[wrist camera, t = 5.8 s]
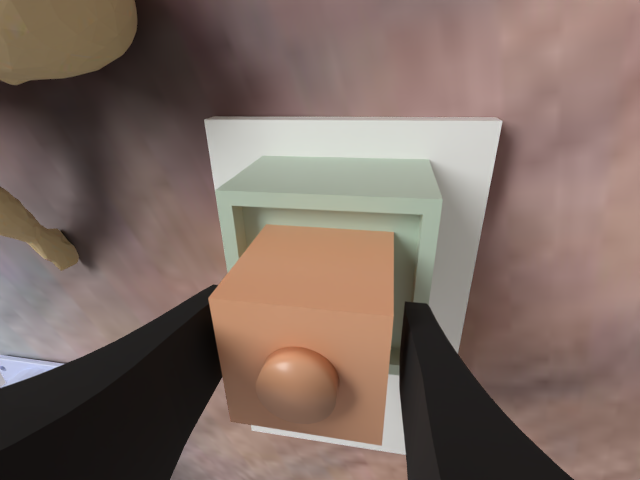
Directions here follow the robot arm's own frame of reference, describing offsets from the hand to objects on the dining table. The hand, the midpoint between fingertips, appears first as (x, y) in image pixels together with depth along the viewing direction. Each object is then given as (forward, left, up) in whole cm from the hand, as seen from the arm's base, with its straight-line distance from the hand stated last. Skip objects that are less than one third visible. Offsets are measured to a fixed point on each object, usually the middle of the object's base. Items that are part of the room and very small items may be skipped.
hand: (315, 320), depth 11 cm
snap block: (0, 0, -2) cm, 2 cm away
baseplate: (-5, 0, -7) cm, 9 cm away
